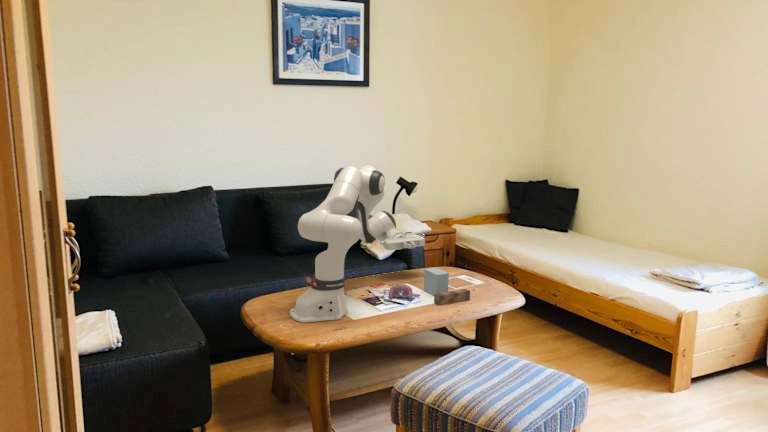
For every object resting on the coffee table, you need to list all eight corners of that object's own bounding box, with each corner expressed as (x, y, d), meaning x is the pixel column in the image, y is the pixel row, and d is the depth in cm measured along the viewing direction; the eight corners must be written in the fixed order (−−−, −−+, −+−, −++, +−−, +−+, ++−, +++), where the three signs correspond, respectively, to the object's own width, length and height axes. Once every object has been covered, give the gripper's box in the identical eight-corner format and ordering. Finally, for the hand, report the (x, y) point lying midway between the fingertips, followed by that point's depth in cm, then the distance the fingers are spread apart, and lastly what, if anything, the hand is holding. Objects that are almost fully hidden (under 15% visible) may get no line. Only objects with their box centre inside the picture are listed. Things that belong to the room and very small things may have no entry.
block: (436, 297, 244) (437, 274, 242) (423, 290, 253) (424, 269, 251) (447, 295, 247) (448, 273, 245) (435, 289, 255) (435, 267, 254)
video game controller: (412, 301, 242) (413, 285, 244) (411, 300, 238) (412, 283, 240) (389, 300, 243) (390, 284, 245) (388, 299, 239) (389, 282, 241)
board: (438, 305, 234) (438, 296, 233) (434, 303, 236) (434, 293, 236) (469, 299, 241) (470, 290, 241) (465, 297, 244) (465, 288, 243)
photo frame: (485, 282, 264) (456, 288, 254) (485, 284, 265) (456, 290, 255) (464, 274, 276) (435, 280, 266) (464, 276, 276) (435, 282, 267)
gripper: (378, 235, 267) (392, 242, 255) (415, 231, 277) (431, 237, 265) (378, 248, 268) (392, 256, 256) (415, 244, 278) (431, 250, 266)
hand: (412, 246), depth 261 cm, fingers closed
